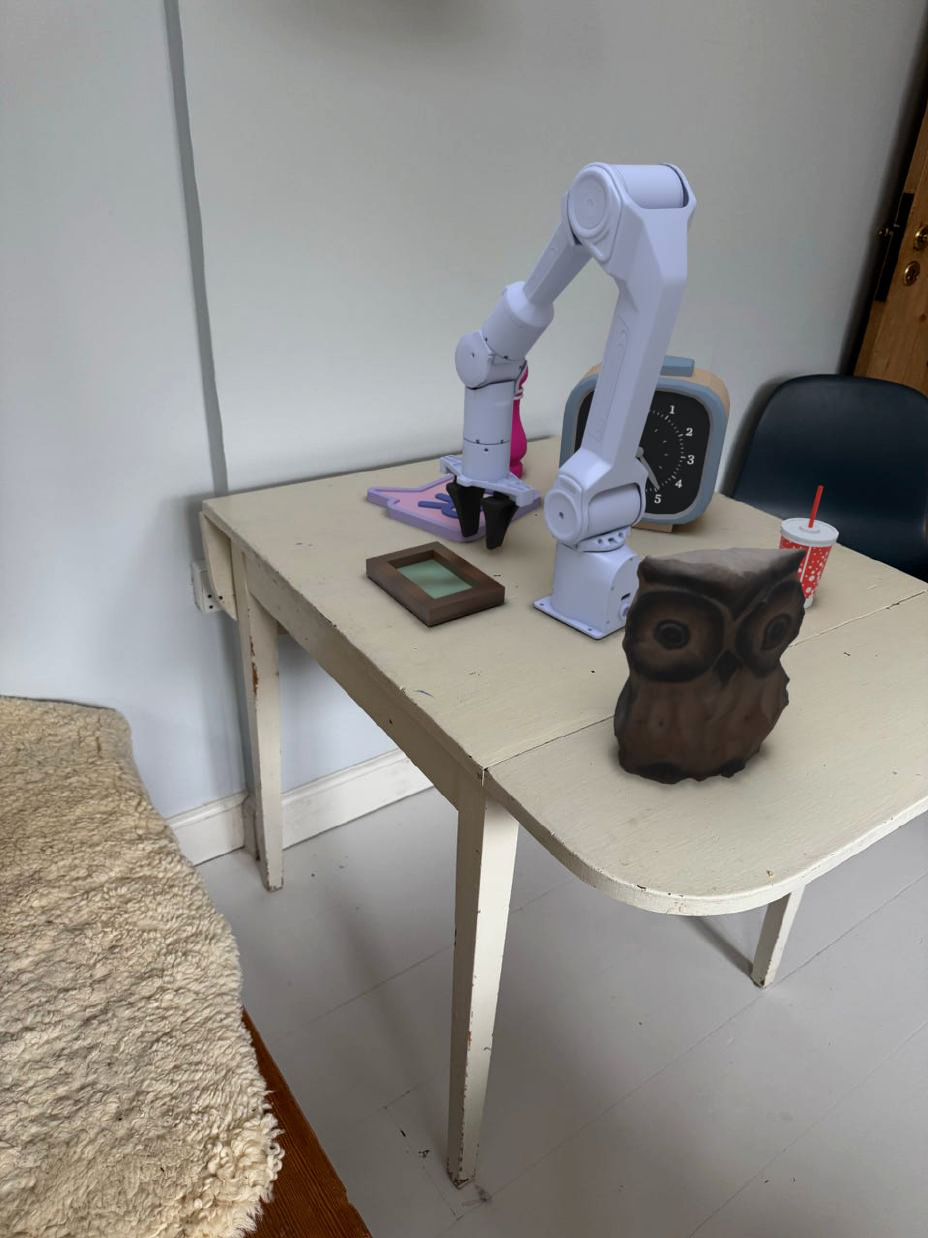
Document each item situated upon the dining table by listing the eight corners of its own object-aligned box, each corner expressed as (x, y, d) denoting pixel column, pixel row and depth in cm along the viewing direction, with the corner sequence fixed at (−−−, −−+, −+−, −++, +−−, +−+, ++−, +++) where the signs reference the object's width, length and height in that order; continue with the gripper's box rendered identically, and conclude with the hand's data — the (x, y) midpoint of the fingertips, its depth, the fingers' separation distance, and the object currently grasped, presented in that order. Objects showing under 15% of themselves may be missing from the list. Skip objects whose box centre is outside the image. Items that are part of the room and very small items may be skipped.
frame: (504, 602, 94) (505, 586, 93) (429, 626, 89) (429, 609, 88) (437, 555, 104) (437, 540, 103) (366, 574, 99) (365, 558, 98)
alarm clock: (553, 517, 117) (567, 358, 106) (567, 493, 124) (582, 343, 113) (704, 541, 111) (736, 376, 100) (709, 514, 119) (739, 359, 108)
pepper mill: (503, 462, 135) (511, 334, 125) (534, 476, 130) (545, 343, 120) (469, 471, 131) (474, 339, 121) (500, 485, 126) (507, 349, 116)
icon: (439, 460, 131) (547, 493, 120) (439, 469, 131) (546, 502, 121) (353, 494, 118) (465, 534, 107) (353, 504, 118) (465, 544, 108)
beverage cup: (816, 591, 100) (847, 480, 93) (821, 615, 95) (854, 500, 88) (763, 583, 101) (789, 473, 94) (764, 607, 96) (793, 492, 89)
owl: (779, 750, 74) (837, 543, 64) (715, 827, 65) (771, 603, 55) (651, 693, 81) (686, 498, 70) (578, 756, 72) (606, 545, 62)
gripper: (421, 427, 102) (421, 530, 109) (506, 460, 93) (499, 570, 100) (464, 417, 106) (461, 516, 113) (549, 448, 97) (540, 554, 104)
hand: (482, 541), depth 106 cm, fingers open, 4 cm apart
